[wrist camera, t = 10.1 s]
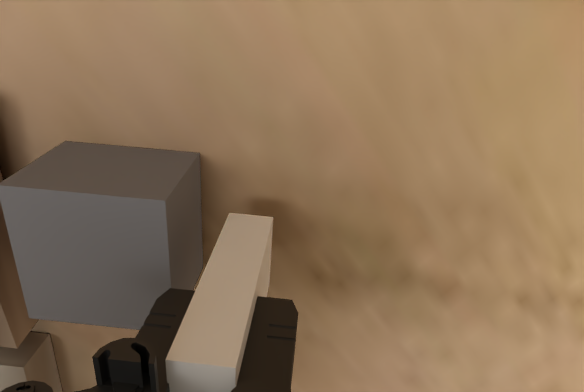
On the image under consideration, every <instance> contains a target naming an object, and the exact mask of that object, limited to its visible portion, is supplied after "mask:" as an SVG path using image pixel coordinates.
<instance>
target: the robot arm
mask: <svg viewBox="0 0 584 392" xmlns="http://www.w3.org/2000/svg"><path fill="white" fill-rule="evenodd" d="M272 231H273V217H269V216H259V215H248V214H238V213H229V215H228V217H227V219H226V222H225V224H224V226H223V228H222V231H221V233H220V235H219V238H218V240H217V242H216V245H215V247H214V249H213V251H212V254H211V256H210V258H209V261H208V263H207V265H206V268H205V270H204V272H203V274H202V277H201V279H200V281H199V284H198V286H197V288H196V291H193V290H184V289H174V288H169V289H168V290H167V291H166V292H165V293H163V294H162V295H161V296H160V297H158V298H157V299H156V301H155V303H154V305H153V307H152V308H151V310H150V313H149V315H148V316H147V318H146V320H145V321H144V325H143V326H142V327H141V329H140V331H139V332H138V334H137V336H136V338H123V339H119V340H116V341H113V342H110V343H108V344H107V345H105V346H103V347H102V348H100V349H99V350H98V351H97V353H96V354H95V355H94V356H93V357H92V358H93V364H94V369H95V375H96V381H97V386H95V387H92V388H90V389H86V390H82V391H76V392H291V381H292V371H293V362H294V352H295V342H296V331H297V320H298V312H297V309H296V307H295V305H294V303H293V301H292V300H288V299H279V298H269V297H267V293H268V288H269V283H270V268H271V249H272ZM1 392H53V390H52V387H50V386H49V385H47V384H46V383H45V382H40V381H33V380H32V381H26V382H19V383H17V384H15V385H12V386H10V387H7V388H5V389H4V390H2V391H1Z"/></svg>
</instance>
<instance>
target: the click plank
mask: <svg viewBox="0 0 584 392" xmlns="http://www.w3.org/2000/svg"><path fill="white" fill-rule="evenodd" d="M2 181H3V178H2V175H1V172H0V182H2ZM38 320H39V319H32V318H29V316H28V312H27V308H26V304H25V300H24V295H23V291H22V287H21V283H20V279H19V275H18V271H17V267H16V263H15V259H14V255H13V251H12V247H11V243H10V238H9V234H8V230H7V226H6V222H5V218H4V214H3V210H2V206H1V202H0V347H7V348H16V349H17V348H18V347H19V345H20V344H21V343H22V341H23V340H24V339H25V337H26V336H27V335H28V333H29V332H30V331H31V329H32V328H33V327H34V325H35V324H36V323H37V321H38Z"/></svg>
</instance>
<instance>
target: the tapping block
mask: <svg viewBox="0 0 584 392" xmlns="http://www.w3.org/2000/svg"><path fill="white" fill-rule="evenodd" d="M0 202H1V206H2V210H3V214H4V218H5V222H6V226H7V230H8V234H9V238H10V243H11V247H12V251H13V255H14V259H15V263H16V267H17V271H18V275H19V279H20V283H21V287H22V291H23V295H24V300H25V304H26V308H27V312H28V316H29V318H32V319H41V320H51V321H60V322H70V323H79V324H89V325H98V326H107V327H117V328H126V329H136V330H140V329H141V327H142V326H143V325H144V321H145V320H146V318H147V316H148V315H149V313H150V310H151V308H152V307H153V305H154V303H155V301H156V299H157V298H158V297H160V296H161V295H162V294H163V293H165V292H166V291H167V290H168V289H169V288H174V289H184V290H193V289H194V287H195V284H196V282H197V280H198V277H199V275H200V273H201V270H202V268H203V246H202V210H201V173H200V153H195V152H184V151H172V150H161V149H150V148H139V147H128V146H116V145H105V144H94V143H83V142H72V141H64V142H63V143H61V144H60V145H58V146H57V147H55V148H53V149H52V150H50V151H49V152H47V153H46V154H44V155H43V156H41V157H39V158H38V159H36V160H35V161H33V162H32V163H30V164H28V165H27V166H25V167H24V168H22V169H21V170H19V171H18V172H16V173H14V174H13V175H11V176H10V177H8V178H7V179H5V180H3V181H2V182H0Z"/></svg>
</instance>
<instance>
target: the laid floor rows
mask: <svg viewBox="0 0 584 392" xmlns="http://www.w3.org/2000/svg"><path fill="white" fill-rule="evenodd" d="M32 380H33V381H40V382H45V383H46V384H47V385H49V386H50V387H52V390H53V392H63V391H62V387H61V383H60V378H59V374H58V369H57V365H56V360H55V356H54V351H53V347H52V343H51V338H50V334H46V333H37V332H29V333H28V335H27V336H26V337H25V339H24V340H23V341H22V343H21V344H20V345H19V347H18V348H17V349H16V348H7V347H0V392H1V391H2V390H4V389H5V388H7V387H10V386H12V385H15V384H17V383H19V382H26V381H32Z"/></svg>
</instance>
